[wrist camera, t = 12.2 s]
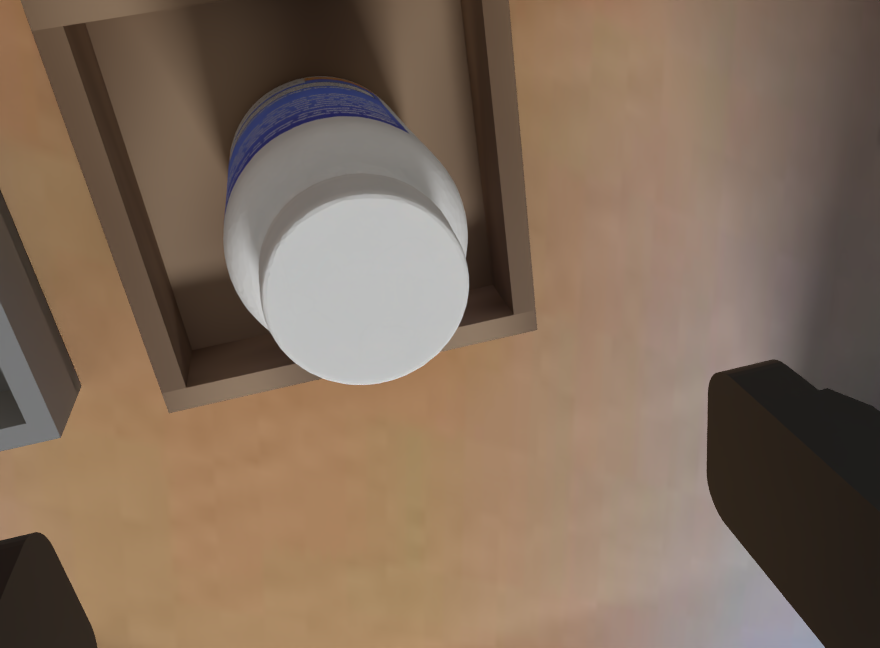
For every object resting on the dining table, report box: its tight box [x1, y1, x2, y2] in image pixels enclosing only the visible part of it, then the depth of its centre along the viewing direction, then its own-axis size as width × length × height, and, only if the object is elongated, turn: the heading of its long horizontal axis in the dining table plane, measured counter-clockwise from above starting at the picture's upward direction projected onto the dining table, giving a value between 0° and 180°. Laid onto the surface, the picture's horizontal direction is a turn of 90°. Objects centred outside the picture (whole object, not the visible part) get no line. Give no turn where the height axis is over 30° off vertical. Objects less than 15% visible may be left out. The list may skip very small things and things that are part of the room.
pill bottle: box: [223, 76, 469, 385], centre depth 19 cm, size 5×5×10 cm
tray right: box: [21, 0, 537, 413], centre depth 22 cm, size 11×11×3 cm
